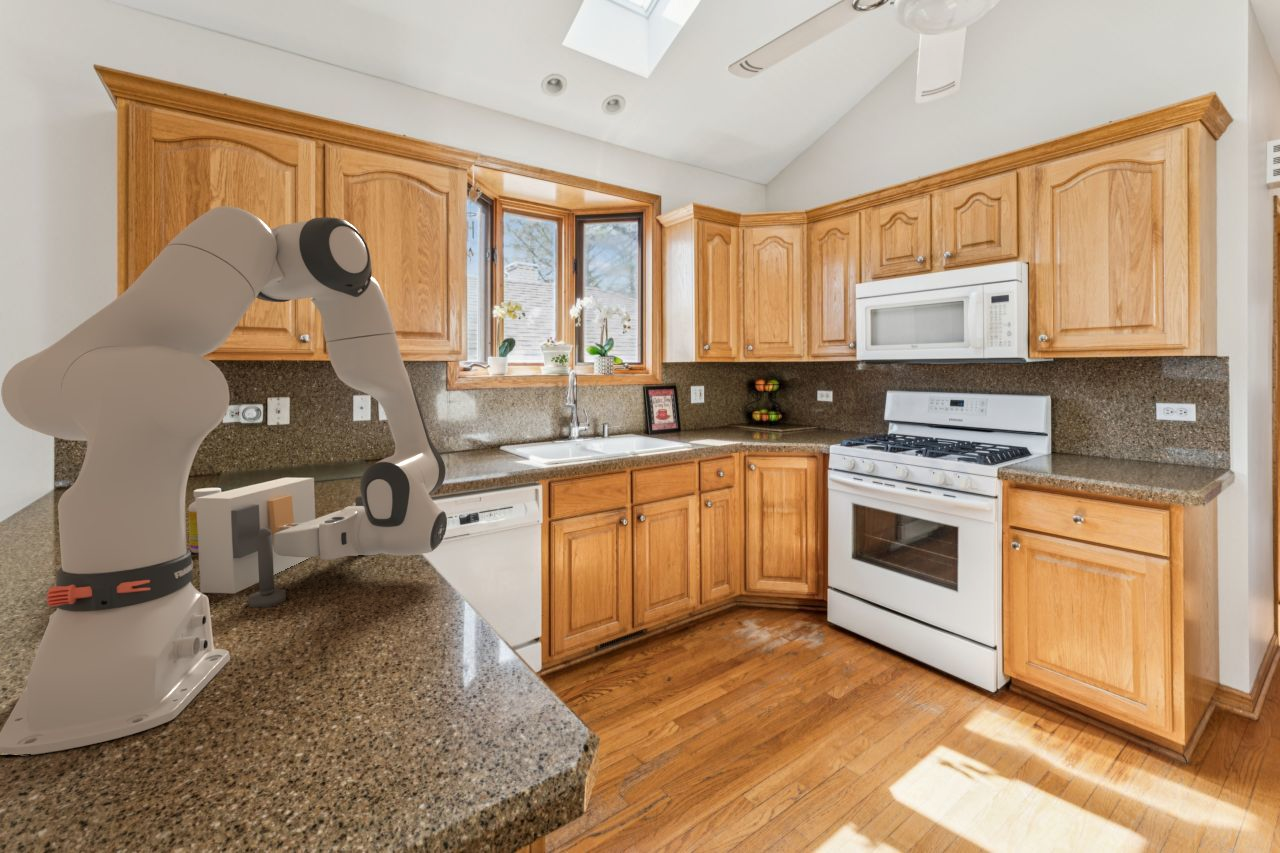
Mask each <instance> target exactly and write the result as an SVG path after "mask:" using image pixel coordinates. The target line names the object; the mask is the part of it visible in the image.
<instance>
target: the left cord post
mask: <svg viewBox="0 0 1280 853" xmlns="http://www.w3.org/2000/svg"><path fill="white" fill-rule="evenodd" d="M257 544H258V568H259V582H258V587H259V588H258V589H259V591H257V592H253V593H252V594H250V595H249V596H248V597H247V598H248V600H247V601H248V606H249V607H251V608H259V609H260V608H268V607H273V606H276V605H279V604H282V603H284V602H285V601H286V599H287V598H286V590H284V589H282V588H275V577H274V576H275V575H274V571H273V546H272V531H271V530H270V529H268V528H262V529H260V530H259V531H258V533H257Z"/></svg>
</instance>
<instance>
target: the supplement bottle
mask: <svg viewBox="0 0 1280 853" xmlns="http://www.w3.org/2000/svg"><path fill="white" fill-rule="evenodd" d="M220 492H222V488H220V487H204V488H197V489H195V490H193V498H194V501H193V502H191V503H190V504H189V505H188V508H187V509H188V510H187V511H188V532H189V534H188V535H189V551H190V552H191V553H195V554H199V550H198V530H197V510H196V498H198V497H202V496H207V495H211V494H215V493H220Z"/></svg>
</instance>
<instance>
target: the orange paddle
mask: <svg viewBox="0 0 1280 853" xmlns="http://www.w3.org/2000/svg"><path fill="white" fill-rule="evenodd" d="M268 509H269V519H270V529H271V531H272V545H273V535H274V534H275V533H276V532H280V527H283V526H286V525H289V524H292V523H294V516H293V506H292V496H291V495H289V496H283V497H280V498H276V499H272V500H269V501H268Z"/></svg>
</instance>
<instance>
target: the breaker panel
mask: <svg viewBox="0 0 1280 853" xmlns="http://www.w3.org/2000/svg"><path fill="white" fill-rule="evenodd" d="M289 495H291V496H292V506H293V516H294V523H304V522H308V521H311V520H314V519H316V503H315V502H316V501H315V499H316V498H315V497H316V495H315V477H281V478H277V479H273V480H268V481H265V482H260V483H256V484H251V485H247V486H242V487H238V488H233V489H229V490H224V491H221V492H220V493H215V494H211V495H207V496H202V497H198V498H196V510H197V530H198V550H199V553H198V566H199V567H198V569H199V585H200V587H199V588H200V591H199V592H201V593H202V594H204V593H205V594H207V593H209V594H237V593H239V592H241V591H244V590H245V589H249V588H250V587H252V586H254V585H256V584H259V568H258V551H257V552H254V553H252V554H249V555H247V556H244V557H241V558H233V537H232V515H231V511H232V510H235V509H239V508H243V507H246V506H250V505H259V519H260V529H262V528H268V529H270V519H269V509H268V501H269V500H272V499H276V498H280V497H283V496H289ZM270 530H271V529H270ZM272 546H273V545H272ZM308 558H310V557H292V556H281V555H278V554H276V553H275V552H274V548H273V571H274V576H275V574H276V575H277V573H278V574H280V573H282V572H285V571H286V570H285V569H287V568H289V569H290V567H291V566H293V567H295V566H297V565H299V564H298V563H300V562H302V561H304V560H306V559H308ZM310 559H311V558H310ZM308 560H309V559H308ZM306 561H307V560H306ZM304 562H305V561H304ZM302 563H303V562H302ZM296 564H297V565H296ZM300 564H301V563H300ZM294 565H295V566H294ZM291 568H292V567H291ZM287 570H288V569H287ZM281 571H282V572H281ZM279 572H280V573H279Z"/></svg>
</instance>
